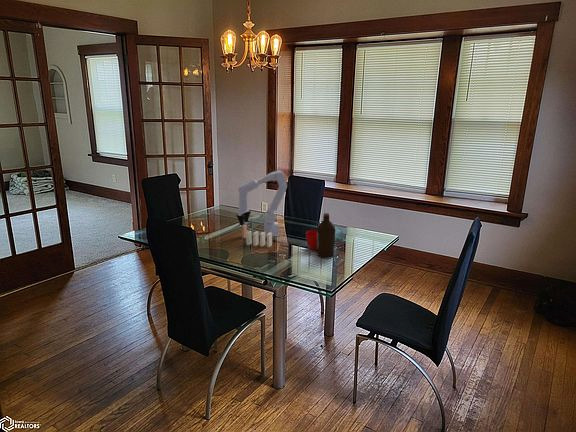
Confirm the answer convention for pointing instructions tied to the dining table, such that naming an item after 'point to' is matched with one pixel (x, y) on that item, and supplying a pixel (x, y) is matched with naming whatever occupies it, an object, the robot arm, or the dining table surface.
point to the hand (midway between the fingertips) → (244, 223)
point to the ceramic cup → (312, 239)
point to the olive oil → (325, 238)
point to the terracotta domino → (244, 230)
